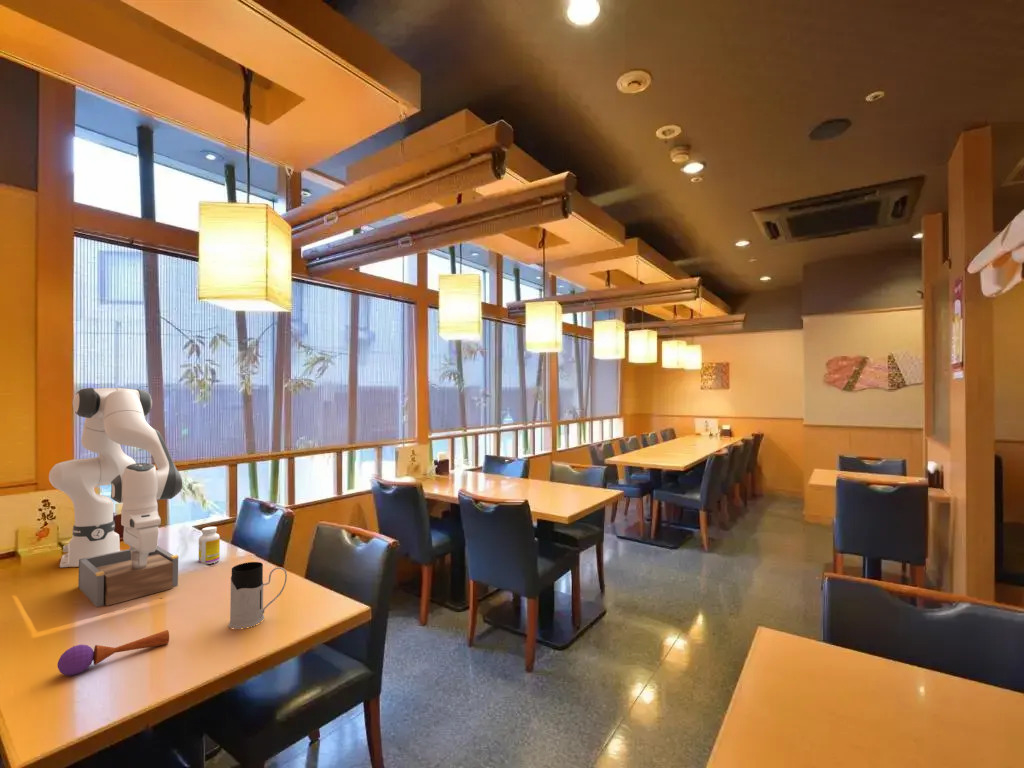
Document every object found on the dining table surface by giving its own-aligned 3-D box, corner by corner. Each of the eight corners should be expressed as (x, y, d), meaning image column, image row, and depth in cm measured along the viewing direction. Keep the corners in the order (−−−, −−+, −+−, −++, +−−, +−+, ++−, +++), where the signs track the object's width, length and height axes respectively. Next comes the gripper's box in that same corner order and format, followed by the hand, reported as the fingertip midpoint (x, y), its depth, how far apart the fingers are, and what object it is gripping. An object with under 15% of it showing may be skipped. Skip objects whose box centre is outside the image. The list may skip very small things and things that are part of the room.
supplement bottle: (223, 560, 181) (224, 525, 181) (210, 566, 174) (211, 530, 175) (207, 559, 182) (207, 525, 182) (193, 565, 175) (194, 530, 175)
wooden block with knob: (95, 593, 146) (96, 551, 147) (158, 578, 159) (158, 538, 159) (107, 605, 138) (108, 560, 138) (172, 588, 150) (173, 546, 151)
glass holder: (231, 617, 133) (232, 563, 133) (287, 609, 138) (288, 557, 138) (225, 632, 125) (225, 574, 125) (285, 622, 130) (285, 567, 130)
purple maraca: (172, 631, 117) (61, 658, 102) (168, 654, 117) (57, 685, 102) (166, 619, 121) (58, 644, 106) (162, 642, 121) (54, 670, 106)
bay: (78, 591, 152) (78, 557, 152) (154, 572, 168) (154, 542, 168) (96, 611, 137) (97, 574, 138) (177, 589, 153) (178, 555, 153)
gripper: (117, 514, 151) (116, 558, 150) (136, 524, 138) (135, 572, 138) (142, 510, 156) (141, 553, 155) (162, 519, 143) (162, 566, 142)
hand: (138, 562), depth 146 cm, fingers open, 6 cm apart
